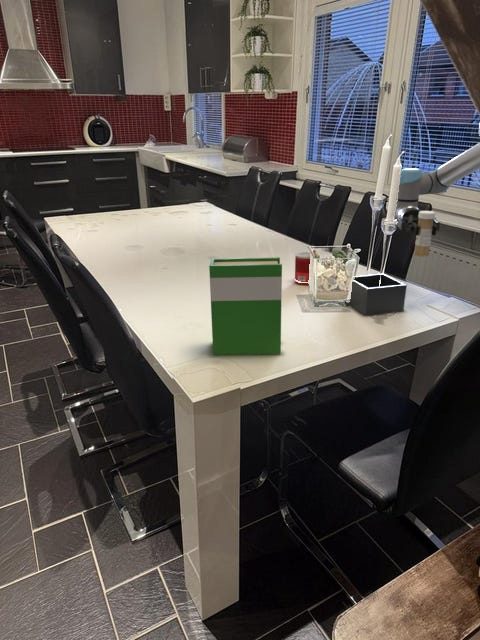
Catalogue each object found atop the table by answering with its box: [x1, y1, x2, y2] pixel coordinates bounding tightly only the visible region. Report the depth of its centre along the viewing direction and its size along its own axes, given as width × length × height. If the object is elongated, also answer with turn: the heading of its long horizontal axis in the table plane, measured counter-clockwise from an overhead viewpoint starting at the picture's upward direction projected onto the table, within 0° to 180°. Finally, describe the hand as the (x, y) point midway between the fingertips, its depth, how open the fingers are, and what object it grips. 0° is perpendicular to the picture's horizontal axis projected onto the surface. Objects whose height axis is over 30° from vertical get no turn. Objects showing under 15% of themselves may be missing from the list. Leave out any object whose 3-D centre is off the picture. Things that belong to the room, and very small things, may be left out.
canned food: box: [294, 251, 311, 286], centre depth 178 cm, size 8×8×11 cm
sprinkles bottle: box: [413, 210, 436, 258], centre depth 142 cm, size 5×5×13 cm
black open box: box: [347, 273, 408, 317], centre depth 152 cm, size 14×14×9 cm
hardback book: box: [208, 256, 283, 356], centre depth 121 cm, size 18×7×24 cm, turn 90°
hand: (425, 230), depth 140 cm, fingers closed on sprinkles bottle, 4 cm apart
